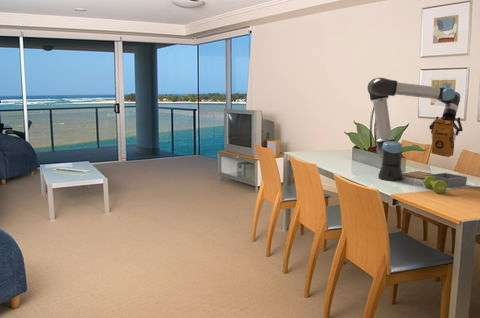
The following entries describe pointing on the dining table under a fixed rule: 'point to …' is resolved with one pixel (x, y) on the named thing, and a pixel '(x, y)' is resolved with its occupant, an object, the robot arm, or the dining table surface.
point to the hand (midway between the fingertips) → (443, 138)
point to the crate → (451, 179)
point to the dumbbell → (435, 184)
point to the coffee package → (443, 138)
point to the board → (416, 174)
